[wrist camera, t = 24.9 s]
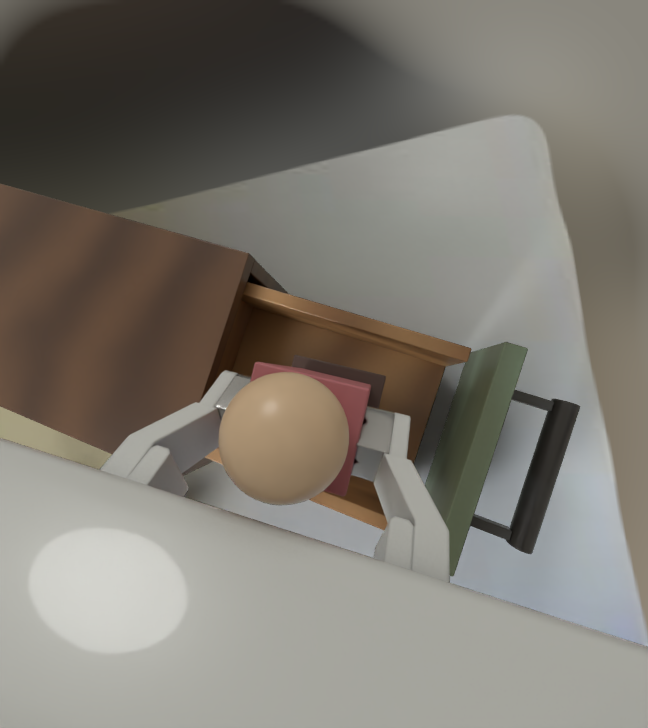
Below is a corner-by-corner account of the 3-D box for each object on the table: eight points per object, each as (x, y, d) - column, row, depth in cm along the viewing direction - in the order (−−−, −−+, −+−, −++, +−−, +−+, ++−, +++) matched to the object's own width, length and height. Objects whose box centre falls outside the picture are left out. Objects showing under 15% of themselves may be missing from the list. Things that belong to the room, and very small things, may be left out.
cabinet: (289, 293, 27) (249, 252, 18) (238, 449, 27) (174, 481, 18) (97, 237, 30) (-14, 179, 22) (51, 375, 30) (-78, 373, 22)
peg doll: (366, 459, 17) (355, 596, 6) (278, 435, 17) (134, 520, 7) (385, 376, 17) (408, 370, 6) (297, 355, 17) (182, 319, 7)
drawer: (552, 377, 23) (627, 376, 16) (496, 546, 23) (548, 617, 16) (255, 289, 27) (214, 257, 20) (208, 433, 27) (150, 451, 20)
